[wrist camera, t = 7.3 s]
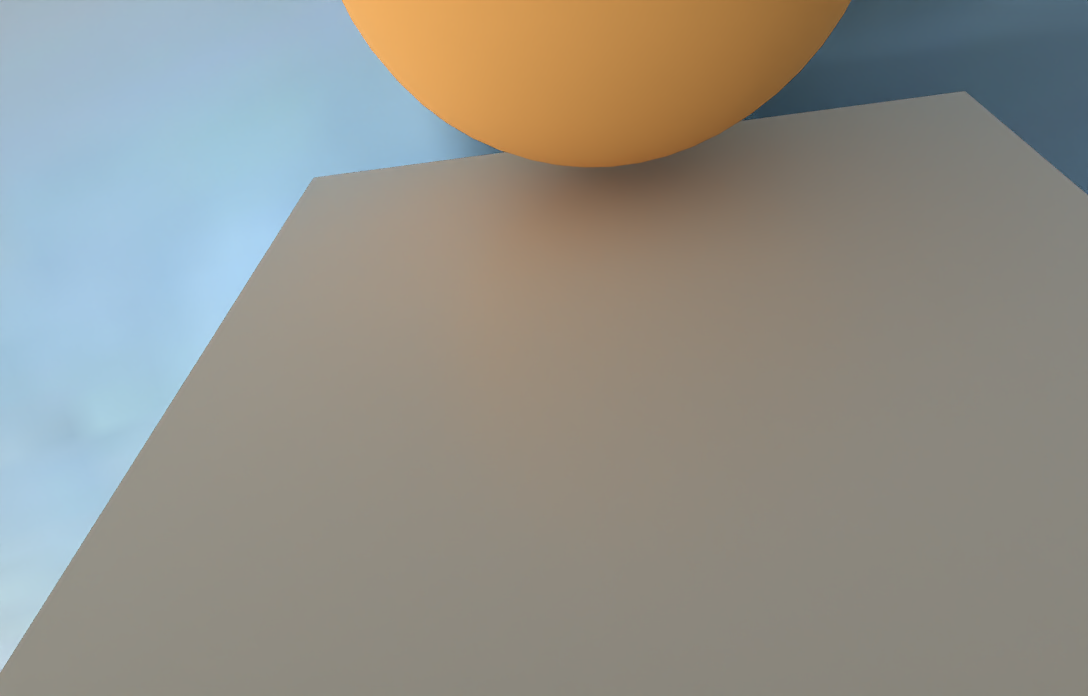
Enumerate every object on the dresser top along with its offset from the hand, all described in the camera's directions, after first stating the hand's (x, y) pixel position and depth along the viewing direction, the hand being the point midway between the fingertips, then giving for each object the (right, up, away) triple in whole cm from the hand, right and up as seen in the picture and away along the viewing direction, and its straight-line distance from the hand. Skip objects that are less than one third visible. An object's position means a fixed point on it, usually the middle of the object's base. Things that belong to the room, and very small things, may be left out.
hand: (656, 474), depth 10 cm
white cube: (0, +1, +2) cm, 2 cm away
